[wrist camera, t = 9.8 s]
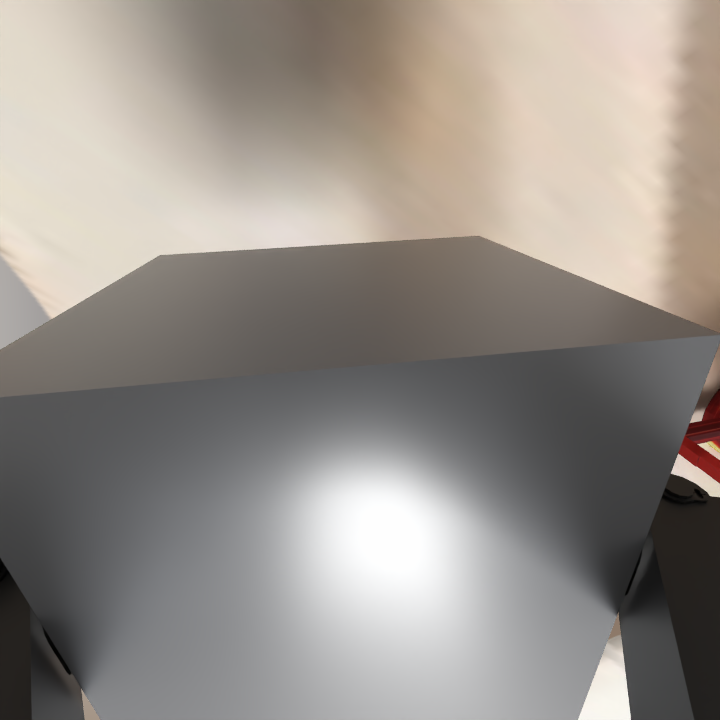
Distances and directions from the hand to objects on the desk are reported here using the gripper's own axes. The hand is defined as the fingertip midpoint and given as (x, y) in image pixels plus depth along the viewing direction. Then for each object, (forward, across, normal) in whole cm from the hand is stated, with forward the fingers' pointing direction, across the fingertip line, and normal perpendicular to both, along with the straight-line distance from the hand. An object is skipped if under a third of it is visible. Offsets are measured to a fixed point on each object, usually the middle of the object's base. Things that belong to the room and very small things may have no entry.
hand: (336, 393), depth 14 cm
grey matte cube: (+1, 0, 0) cm, 1 cm away
